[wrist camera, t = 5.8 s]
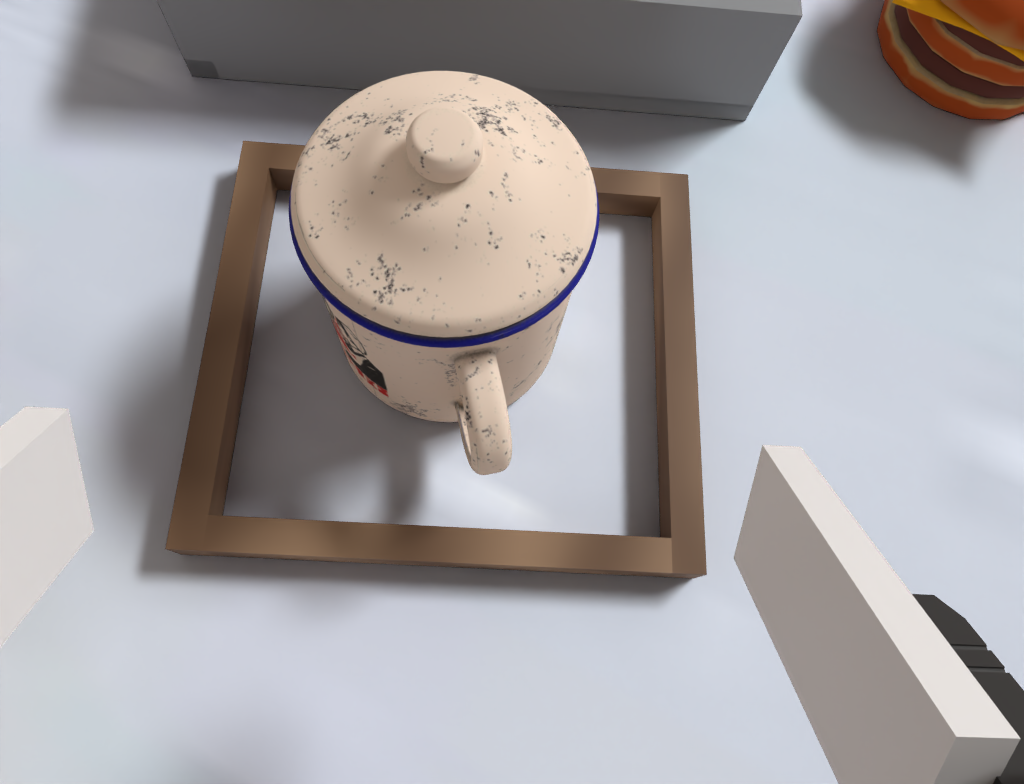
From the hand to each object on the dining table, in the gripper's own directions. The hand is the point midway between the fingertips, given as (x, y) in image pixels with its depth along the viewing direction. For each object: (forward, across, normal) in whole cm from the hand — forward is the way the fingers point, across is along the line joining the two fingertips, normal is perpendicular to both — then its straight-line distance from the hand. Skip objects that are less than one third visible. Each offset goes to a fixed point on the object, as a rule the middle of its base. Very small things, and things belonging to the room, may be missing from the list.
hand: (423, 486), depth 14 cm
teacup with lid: (+15, 0, +4) cm, 15 cm away
